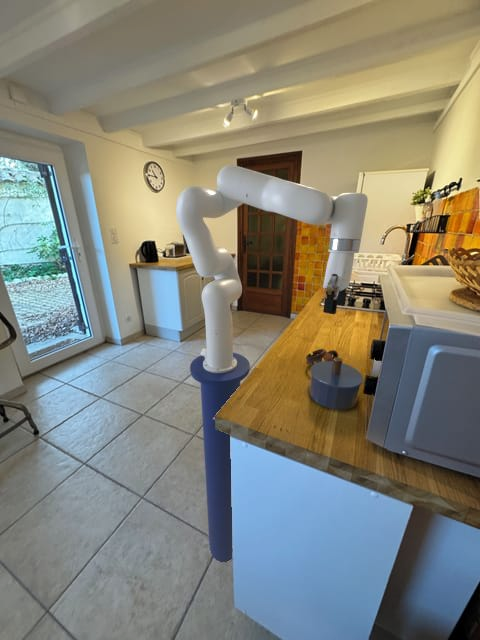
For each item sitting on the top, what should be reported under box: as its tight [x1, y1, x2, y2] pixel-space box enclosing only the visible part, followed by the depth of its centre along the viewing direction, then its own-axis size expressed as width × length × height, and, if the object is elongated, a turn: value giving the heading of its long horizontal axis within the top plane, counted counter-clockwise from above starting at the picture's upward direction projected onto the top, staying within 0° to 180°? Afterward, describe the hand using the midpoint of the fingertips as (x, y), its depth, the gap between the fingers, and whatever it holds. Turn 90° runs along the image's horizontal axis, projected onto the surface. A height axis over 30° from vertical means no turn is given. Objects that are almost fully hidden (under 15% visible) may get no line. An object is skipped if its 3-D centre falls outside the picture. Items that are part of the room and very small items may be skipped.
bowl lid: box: [309, 356, 364, 389], centre depth 72 cm, size 14×14×6 cm
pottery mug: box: [305, 348, 339, 367], centre depth 90 cm, size 12×9×8 cm
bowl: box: [309, 374, 361, 411], centre depth 74 cm, size 13×13×7 cm
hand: (334, 309), depth 72 cm, fingers open, 9 cm apart
